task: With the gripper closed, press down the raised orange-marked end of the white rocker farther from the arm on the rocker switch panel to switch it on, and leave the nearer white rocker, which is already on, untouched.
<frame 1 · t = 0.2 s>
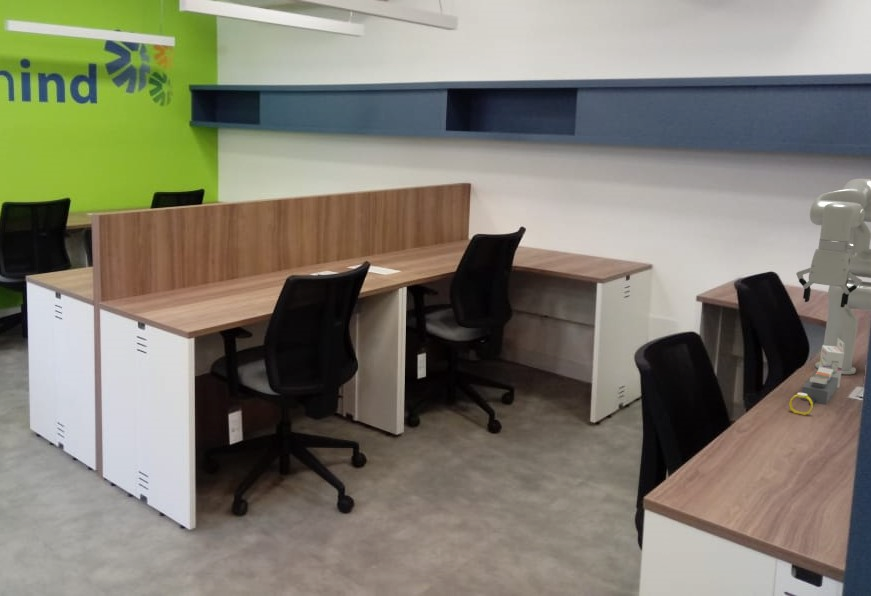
hand: (824, 304, 232), 30 cm above the table, tool pointing down, fingers open, 9 cm apart
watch: (799, 414, 227), on the table
rocker b: (824, 373, 247), point 6 cm above the table, hinge at 12.0°
ink cartridge box: (827, 384, 257), on the table
rocker switch panel: (818, 394, 245), on the table
rocker a: (818, 380, 240), point 6 cm above the table, hinge at -12.0°
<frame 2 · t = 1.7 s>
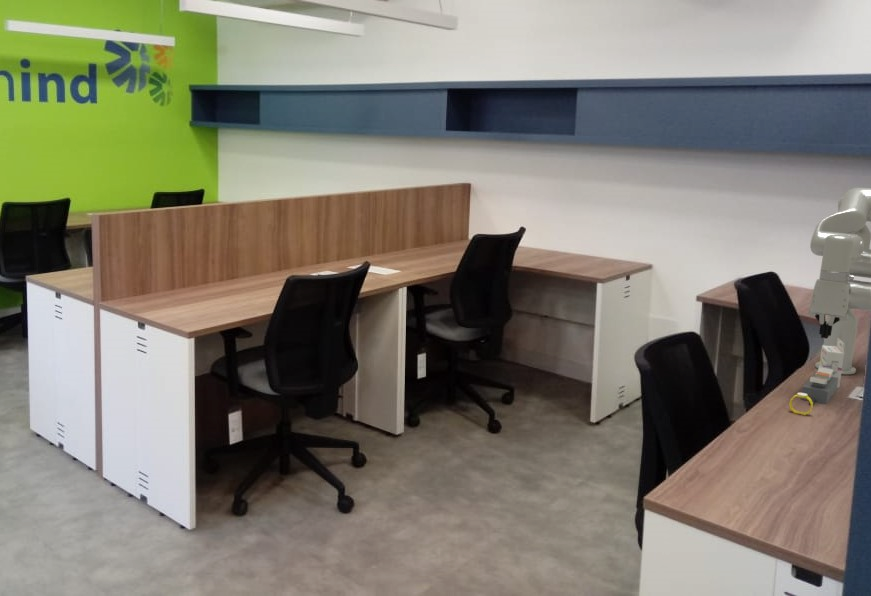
hand: (824, 337, 236), 19 cm above the table, tool pointing down, fingers closed
nothing on the table moved.
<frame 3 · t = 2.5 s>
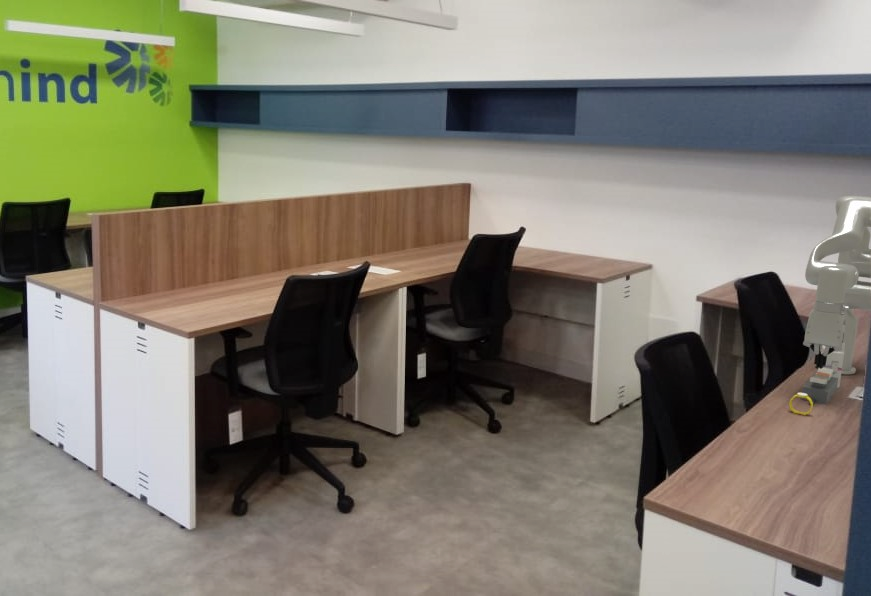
hand: (819, 367, 237), 10 cm above the table, tool pointing down, fingers closed
nothing on the table moved.
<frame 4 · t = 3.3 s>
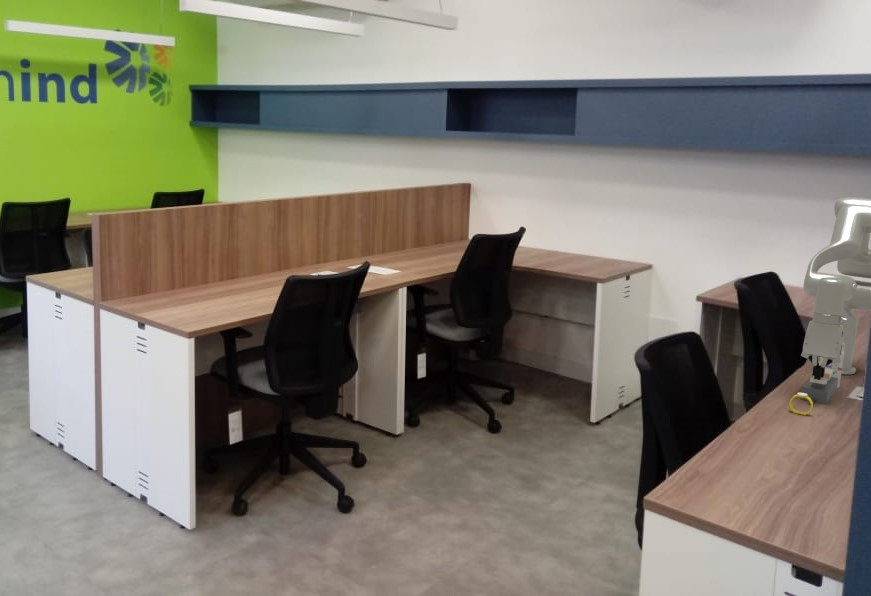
hand: (817, 378, 237), 7 cm above the table, tool pointing down, fingers closed
rocker a: (818, 380, 240), point 6 cm above the table, hinge at -10.6°, touching gripper
everything else where it was.
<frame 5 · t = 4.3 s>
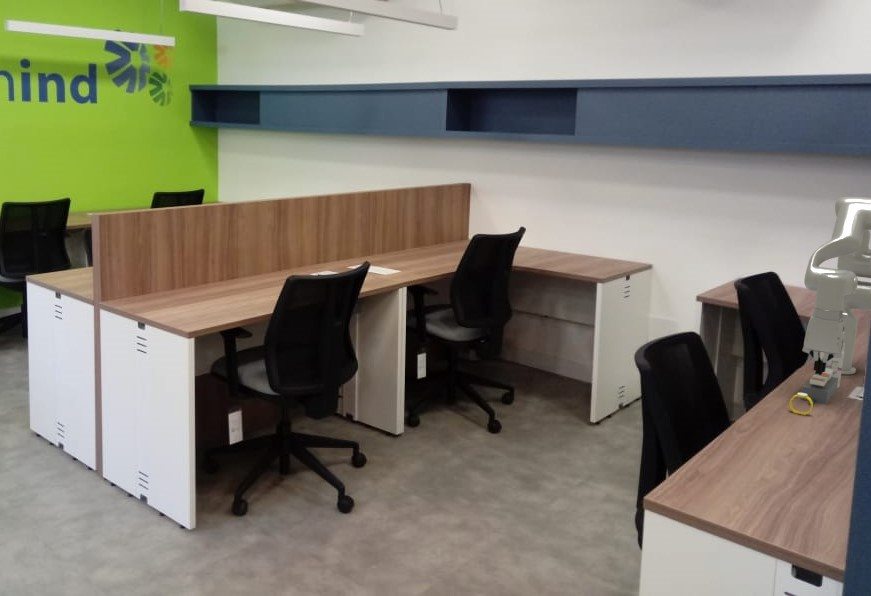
hand: (818, 373, 238), 8 cm above the table, tool pointing down, fingers closed
rocker a: (818, 380, 240), point 6 cm above the table, hinge at 1.1°
everything else where it was.
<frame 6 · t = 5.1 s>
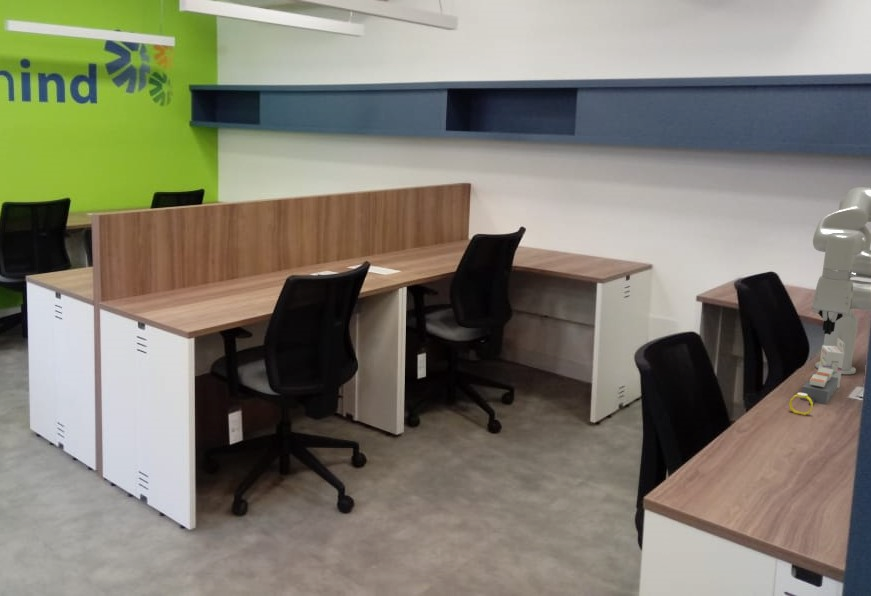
hand: (827, 333, 241), 20 cm above the table, tool pointing down, fingers closed
rocker a: (818, 380, 240), point 6 cm above the table, hinge at 7.0°
everything else where it was.
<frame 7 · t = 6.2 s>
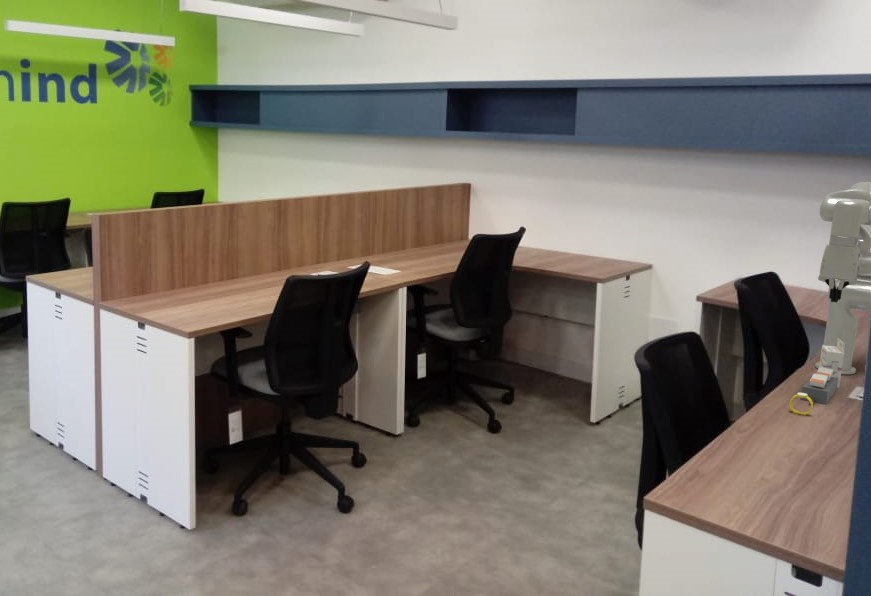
hand: (834, 301, 241), 29 cm above the table, tool pointing down, fingers closed
rocker a: (818, 380, 240), point 6 cm above the table, hinge at 12.8°
everything else where it was.
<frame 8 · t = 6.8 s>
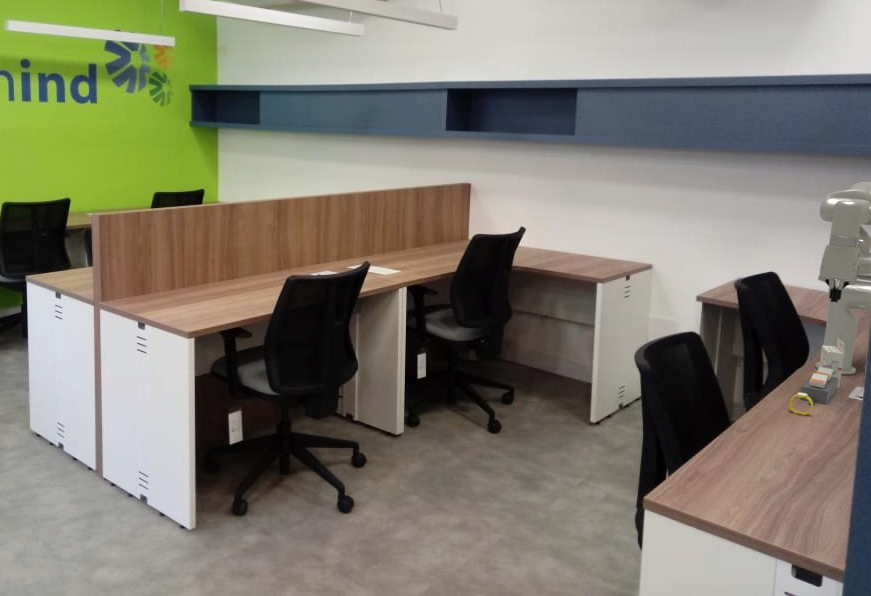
hand: (834, 301, 241), 29 cm above the table, tool pointing down, fingers closed
rocker a: (818, 380, 240), point 6 cm above the table, hinge at 15.1°
everything else where it was.
at the end: rocker a at +16° (first picture: -12°); rocker b at +12° (first picture: +12°) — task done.
